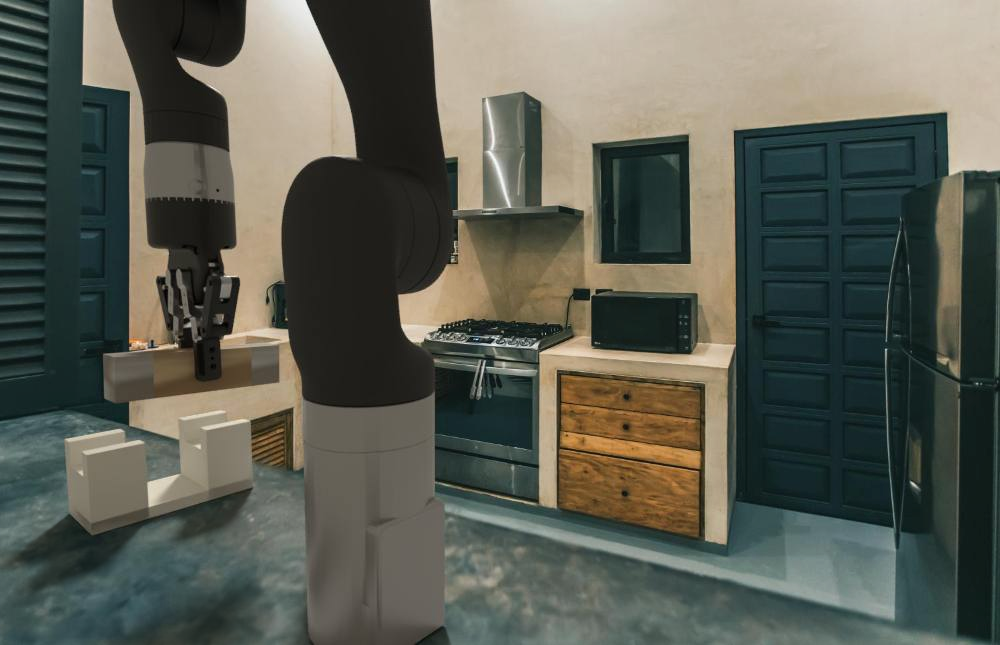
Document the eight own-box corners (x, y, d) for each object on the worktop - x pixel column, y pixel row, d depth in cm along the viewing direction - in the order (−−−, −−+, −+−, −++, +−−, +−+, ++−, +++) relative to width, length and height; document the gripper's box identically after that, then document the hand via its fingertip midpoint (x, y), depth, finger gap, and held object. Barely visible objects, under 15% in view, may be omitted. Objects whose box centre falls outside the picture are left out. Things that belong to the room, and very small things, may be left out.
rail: (279, 382, 60) (279, 345, 60) (115, 403, 49) (114, 357, 49) (265, 379, 62) (265, 342, 62) (104, 398, 51) (103, 353, 51)
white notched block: (252, 487, 67) (250, 421, 66) (91, 535, 55) (86, 455, 54) (223, 472, 72) (221, 410, 71) (69, 513, 60) (64, 439, 59)
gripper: (266, 196, 52) (273, 381, 54) (200, 207, 61) (208, 365, 63) (178, 187, 47) (189, 394, 48) (120, 201, 56) (131, 375, 57)
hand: (200, 377), depth 56 cm, fingers closed on rail, 3 cm apart
